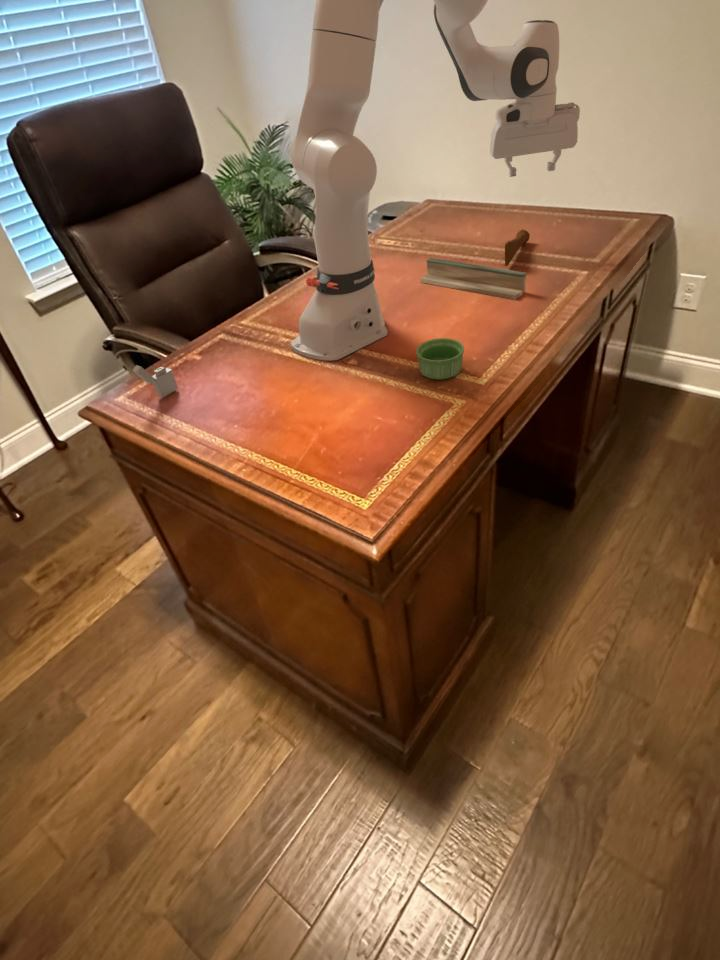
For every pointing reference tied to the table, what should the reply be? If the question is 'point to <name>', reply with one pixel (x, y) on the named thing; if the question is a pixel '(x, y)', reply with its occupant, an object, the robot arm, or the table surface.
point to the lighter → (158, 380)
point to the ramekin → (440, 358)
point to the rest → (475, 278)
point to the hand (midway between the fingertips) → (531, 173)
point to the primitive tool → (515, 245)
